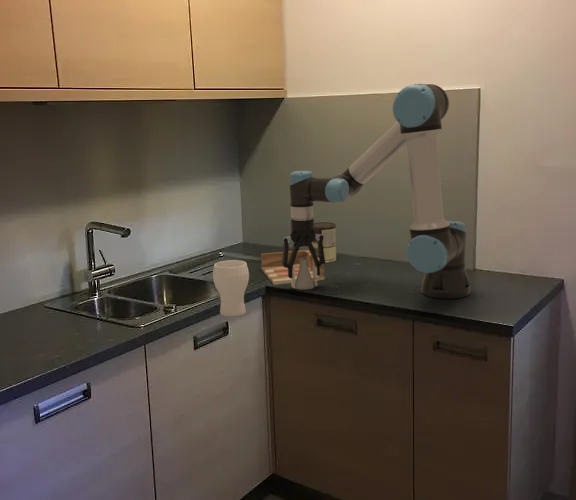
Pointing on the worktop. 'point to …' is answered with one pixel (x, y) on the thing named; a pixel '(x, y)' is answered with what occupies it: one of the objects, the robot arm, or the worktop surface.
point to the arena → (280, 273)
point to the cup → (231, 286)
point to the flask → (304, 276)
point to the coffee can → (326, 240)
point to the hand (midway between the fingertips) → (304, 285)
